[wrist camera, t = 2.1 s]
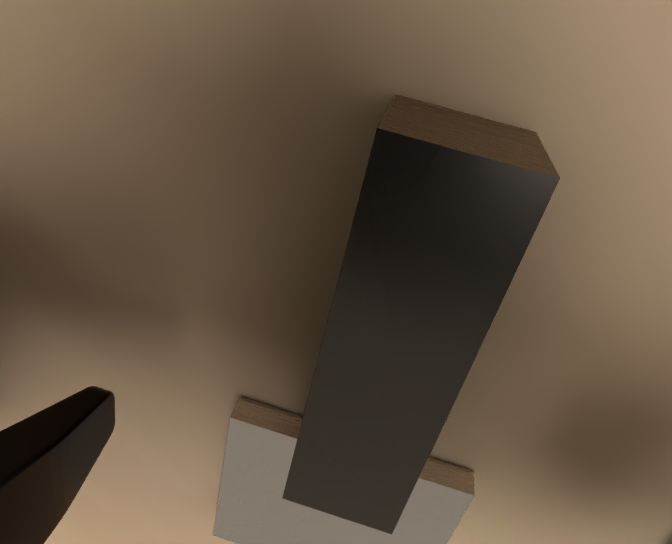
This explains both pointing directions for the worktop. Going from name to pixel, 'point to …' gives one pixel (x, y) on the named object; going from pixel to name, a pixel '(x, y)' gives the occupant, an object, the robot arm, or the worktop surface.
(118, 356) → the worktop surface
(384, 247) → the turner
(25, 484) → the robot arm
